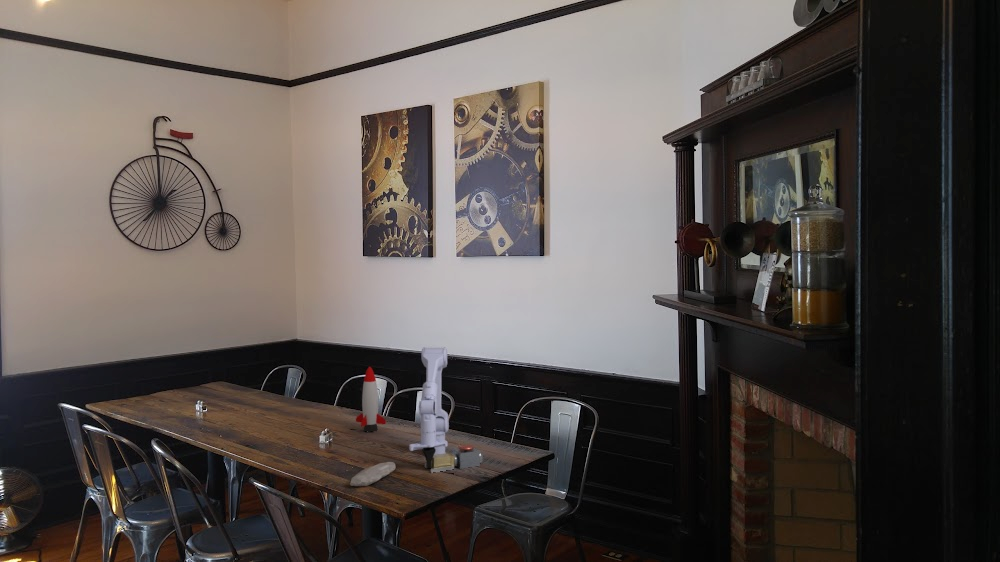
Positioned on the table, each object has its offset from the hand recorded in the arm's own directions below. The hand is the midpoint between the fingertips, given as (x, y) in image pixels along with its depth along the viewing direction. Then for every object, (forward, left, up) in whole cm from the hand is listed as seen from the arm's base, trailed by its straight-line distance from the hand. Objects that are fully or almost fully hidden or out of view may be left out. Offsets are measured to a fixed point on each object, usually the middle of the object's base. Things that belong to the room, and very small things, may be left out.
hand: (428, 467), depth 261 cm
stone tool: (+1, -21, -2) cm, 21 cm away
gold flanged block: (0, +5, -1) cm, 5 cm away
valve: (0, +10, -1) cm, 11 cm away
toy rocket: (-71, -5, -1) cm, 71 cm away
